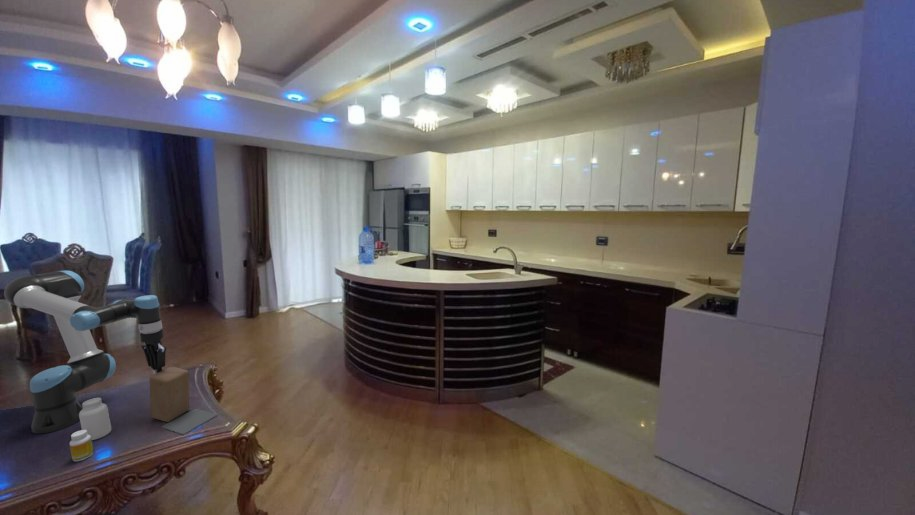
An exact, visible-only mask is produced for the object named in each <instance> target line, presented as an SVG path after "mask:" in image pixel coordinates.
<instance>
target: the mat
mask: <svg viewBox="0 0 915 515" xmlns="http://www.w3.org/2000/svg"><path fill="white" fill-rule="evenodd" d="M217 416H218V414H217V413H212V412H209V411H207V410H202V409H200V408H197V407H196V408H194V409H192V410H190V411H189V412H188V411H187V413H186V412H185V413H183V414H182V415H180V416H178V417H177V418H175V419H173V420H172V421H170V422H166V423H165V424H164V425H162V426H161V427H160V428H162V429H165V430H167V431H171V432H173V431H174V432H173V433H176V432H177V433H176V434H178V433H180V434H179V435H181V434H182V435H181V436H185V435H187V434H189V433H190V432H192V431H193V430H196V429H198V428H199V427H201V426H202V425H204V424H206V423H207V422H209V421H211V420H213V419H215V418H216V417H217ZM186 433H187V434H186ZM184 434H185V435H184Z"/></svg>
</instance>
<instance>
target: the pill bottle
mask: <svg viewBox="0 0 915 515" xmlns="http://www.w3.org/2000/svg"><path fill="white" fill-rule="evenodd" d="M102 400H103V399H102V398H101V397H94V398H90V399H87V400H85V401H83V402H82V404H81V406H82V407H83V409H82V410H81V411H80V413H79V418H80V421H79V422H80V427H81V430H87V434H88V435H90V436H91V440H92V441H96V440H98V439H101V438H103V437H105V436H107V435H108V434H109V433H111V431H112V424H111V420H110V415H109V409H108V406H107V404H106V403H103V402H102Z"/></svg>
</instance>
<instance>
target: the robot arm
mask: <svg viewBox="0 0 915 515" xmlns="http://www.w3.org/2000/svg"><path fill="white" fill-rule="evenodd" d="M84 289H85V282H84V280H83V278H82V277H81V276H80V275H79V274H78V273H76V272H74V271H73V270H57V271H56V270H55V271H50V272H43V273H38V274H37V273H36V274H32V275H31V274H30V275H24V276H21V277H17V278H15V279H13V280H11V281H10V282H9V283H8V284H7V285H6V286H5V288H4V290H3V291H4V292H3V296H4V299H5V300H6V301H7V303H9V304H11V305H12V306H15V307H17V308H22V309H34V310H35V311H39V312H42V313H45V314H48V315H50V316H53V318H54V320H55V323H56V325H57V328H58V330H59V333H60V336H61V337H62V339H63V342H64V345H65V346H66V350H67V352H68V354H69V356H70V358H69V360H68V361H67V365H65V364H64V365H58V366H55V367H51V368H48V369H45V370H42V371H40V372H39V373H37V374H35V375H34V376H33V377H32V378H31V379H30V381H29V392H31V396H32V397H31V398H32V401H33V402H32V403H33V408H34V415H33V419H32V422H31V432H32V433H33V434H37V435H38V434H47V433H52V432H56V431H60V430H63V429H65V428H67V427H71V426H72V425H74V424H77V423H79V422H80V418H79V413H80V411H81V410H82V409H83V406H82V404H81V403H80V402H79V401H78V400H77V396H76V394H77V392H80V391H82V390H84V389H87V388H89V387H91V386H94V385H96V384H98V383H102V382H103V381H105V380H108V379H109V378H111V377H112V376H113V375H114V374H115V372H116V368H117V364H116V359H115V358H114V357H113V356H112V355H111V354H110V353H105V352H104V350H101V349H98V346H97V345H96V343H95V340H94V337H93V334H92V332H91V330H93V329H96V328H99V327H103V326H106V325H108V324H113V323H115V322H119V321H122V320H125V319H126V320H127V319H137V325H138V327H137V329H138V330H139V333H140V334H139V335H140V336H139V338H140V341H141V342H142V343H144V344H143V345H141V348H142V350H143V353H144V355H145V360H146V362H147V366H148V367H149V368H151V369H152V375H154V374H156V373H158V372H160V371H162V370H163V368H164V367H166V351H167V346H164V347H163V343H162V341H161V340H162V339H163V338H164V337H165V334H164V330H163V323H162V316H161V308H160V302H159V299H158V296H157V295H154V294H149V295H142V296H141V295H140V296H138V297H136V298H134V300H133V299H120V300H119V299H118V300H115V301H113V303H111V304H108V305H103V306H99V307H98V306H97V307H94V306H91V305H89V304H85V303H82V302H79V300H80V299H81V297H82V295H81V293H82V292H83V291H84Z"/></svg>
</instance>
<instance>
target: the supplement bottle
mask: <svg viewBox="0 0 915 515" xmlns="http://www.w3.org/2000/svg"><path fill="white" fill-rule="evenodd" d="M70 437H71V438H70V439H71V440H70V441H69V450H70V453H71V460H72V461H73V462H80V461H84V460H86V459H88V458H90V457H91V456H93V454H94V446H93V440H91V436H90V435H88V434H87V430H82V429H81V430H77V431H75V432H73V433H72V434H71V435H70Z"/></svg>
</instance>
